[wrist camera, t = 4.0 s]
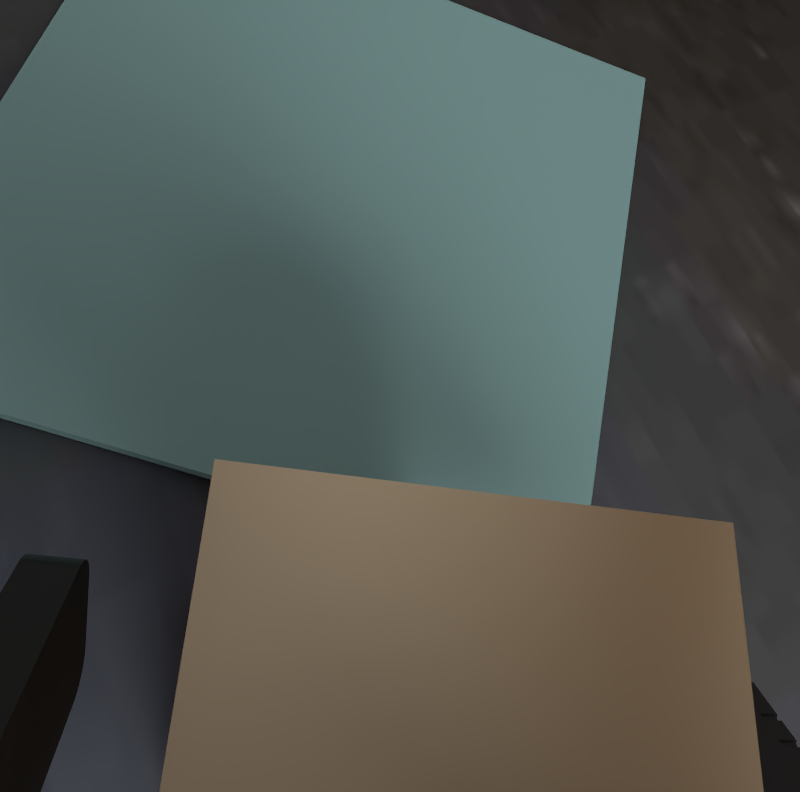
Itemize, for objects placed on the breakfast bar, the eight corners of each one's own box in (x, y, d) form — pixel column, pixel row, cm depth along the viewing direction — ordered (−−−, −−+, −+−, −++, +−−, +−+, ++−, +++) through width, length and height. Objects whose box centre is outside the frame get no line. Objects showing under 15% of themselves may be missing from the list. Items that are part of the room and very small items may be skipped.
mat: (-156, 372, 14) (-167, 364, 14) (142, -108, 21) (141, -122, 20) (572, 585, 16) (580, 583, 16) (638, 87, 23) (645, 78, 22)
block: (176, 848, 13) (80, 1276, 4) (216, 591, 14) (215, 460, 5) (418, 853, 14) (811, 1209, 5) (429, 610, 15) (732, 522, 6)
